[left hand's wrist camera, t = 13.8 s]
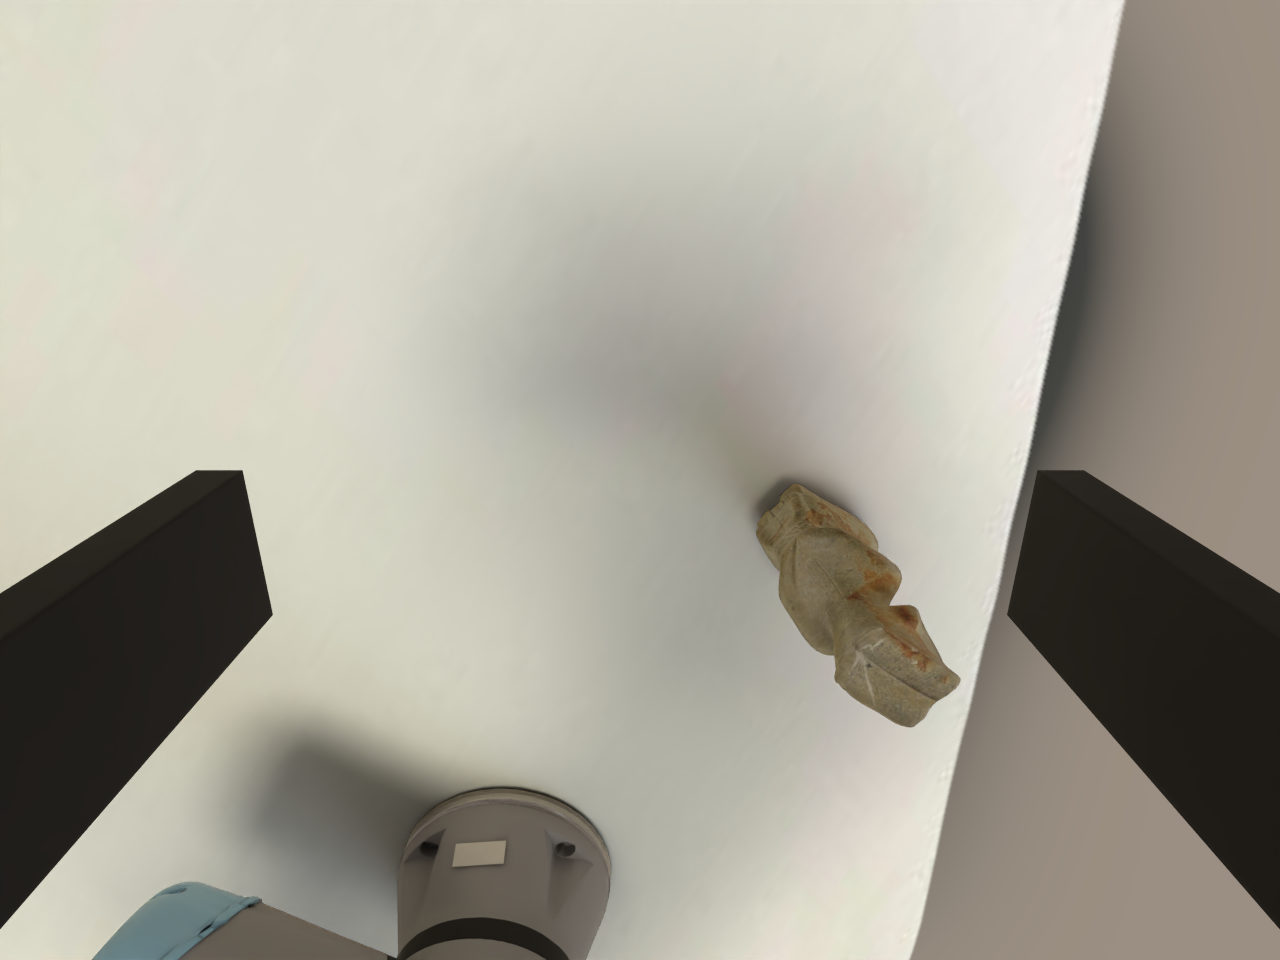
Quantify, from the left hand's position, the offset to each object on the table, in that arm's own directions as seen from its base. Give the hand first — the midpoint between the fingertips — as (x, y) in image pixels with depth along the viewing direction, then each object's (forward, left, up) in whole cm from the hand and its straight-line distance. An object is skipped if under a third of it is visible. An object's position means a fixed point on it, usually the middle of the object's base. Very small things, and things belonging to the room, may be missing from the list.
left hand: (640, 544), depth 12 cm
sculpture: (-13, -10, -29) cm, 34 cm away
